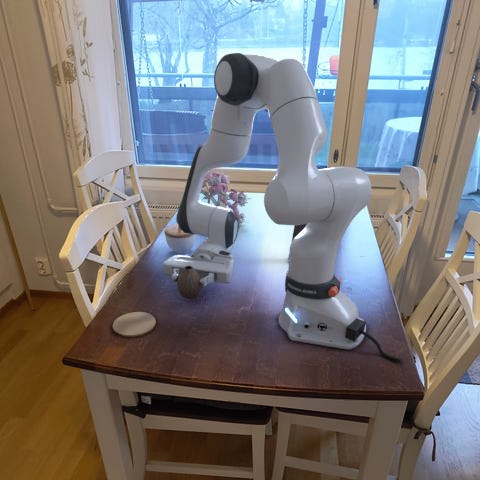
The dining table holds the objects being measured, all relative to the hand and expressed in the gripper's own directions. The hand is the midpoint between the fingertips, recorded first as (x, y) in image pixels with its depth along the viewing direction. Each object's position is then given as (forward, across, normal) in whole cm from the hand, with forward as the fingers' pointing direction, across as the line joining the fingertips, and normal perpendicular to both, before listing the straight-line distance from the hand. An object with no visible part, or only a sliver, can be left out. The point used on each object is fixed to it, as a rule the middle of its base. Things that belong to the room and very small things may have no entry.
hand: (188, 281), depth 114 cm
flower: (-62, -11, +8) cm, 63 cm away
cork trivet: (+13, -10, +8) cm, 18 cm away
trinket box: (-35, -18, +8) cm, 40 cm away
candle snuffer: (-40, +22, +11) cm, 47 cm away
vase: (-1, 0, +5) cm, 5 cm away
